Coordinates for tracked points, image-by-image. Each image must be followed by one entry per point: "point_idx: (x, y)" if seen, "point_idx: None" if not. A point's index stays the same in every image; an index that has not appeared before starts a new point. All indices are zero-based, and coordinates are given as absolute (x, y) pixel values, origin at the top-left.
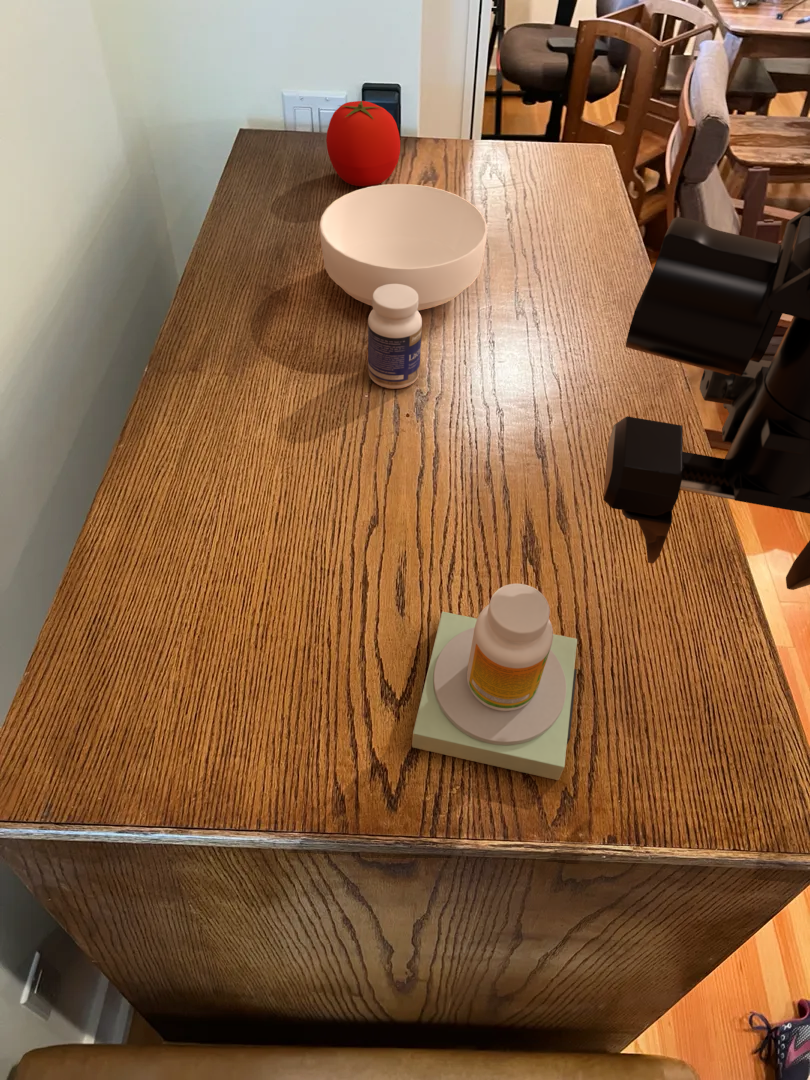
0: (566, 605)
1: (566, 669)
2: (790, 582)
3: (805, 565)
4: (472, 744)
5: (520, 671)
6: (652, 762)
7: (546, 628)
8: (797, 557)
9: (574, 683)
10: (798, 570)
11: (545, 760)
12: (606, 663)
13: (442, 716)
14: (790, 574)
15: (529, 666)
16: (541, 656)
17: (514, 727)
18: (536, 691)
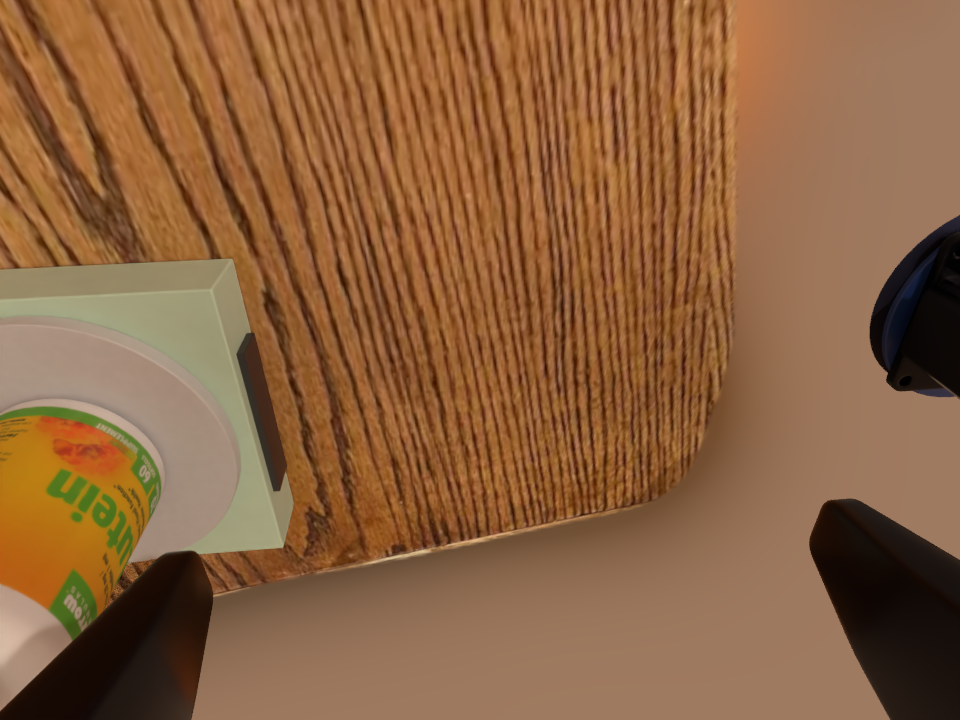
0: (162, 97)
1: (216, 378)
2: (832, 572)
3: (940, 717)
4: None
5: None
6: (451, 434)
7: (9, 679)
8: (928, 600)
9: (250, 388)
10: (892, 648)
11: (246, 546)
12: (323, 257)
13: None
14: (849, 557)
15: None
16: None
17: (159, 533)
18: (162, 482)
